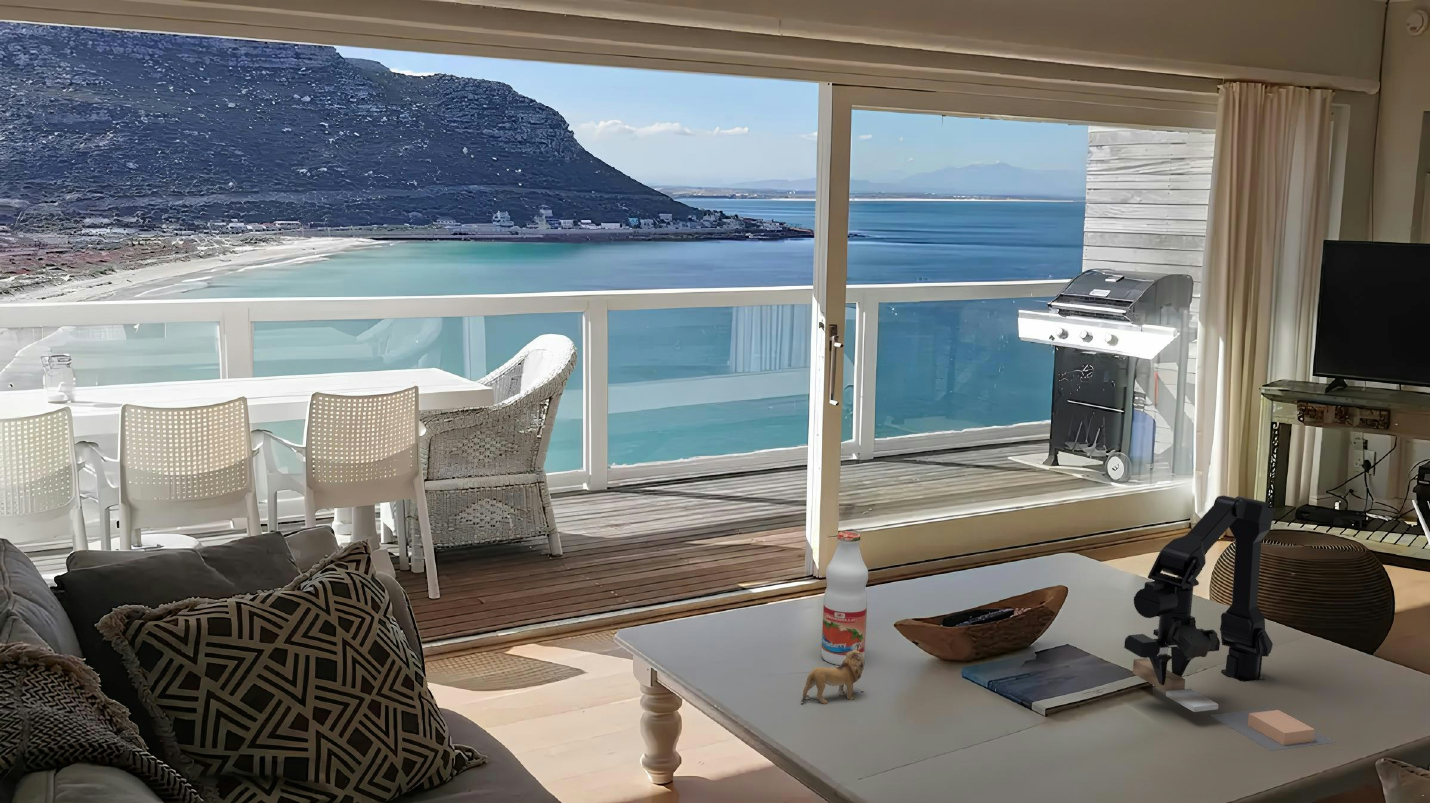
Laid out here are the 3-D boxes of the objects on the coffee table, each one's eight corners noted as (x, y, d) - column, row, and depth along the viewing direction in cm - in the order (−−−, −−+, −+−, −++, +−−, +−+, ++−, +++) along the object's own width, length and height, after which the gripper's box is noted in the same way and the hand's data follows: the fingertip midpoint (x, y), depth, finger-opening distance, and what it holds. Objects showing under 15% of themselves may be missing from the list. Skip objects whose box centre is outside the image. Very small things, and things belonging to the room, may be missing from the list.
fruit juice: (870, 655, 253) (877, 532, 249) (855, 669, 245) (862, 541, 241) (830, 647, 258) (836, 525, 253) (814, 660, 249) (820, 535, 245)
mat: (1270, 710, 231) (1271, 707, 231) (1335, 744, 216) (1335, 742, 216) (1209, 717, 227) (1209, 714, 227) (1270, 753, 212) (1270, 750, 211)
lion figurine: (853, 687, 236) (855, 645, 234) (869, 696, 231) (871, 653, 230) (793, 699, 228) (795, 656, 227) (809, 710, 224) (811, 665, 223)
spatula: (1127, 673, 239) (1128, 659, 239) (1150, 671, 241) (1151, 657, 240) (1193, 711, 220) (1195, 696, 220) (1218, 709, 222) (1219, 694, 222)
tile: (1278, 709, 224) (1314, 729, 216) (1276, 721, 224) (1313, 741, 216) (1248, 713, 222) (1284, 733, 213) (1247, 725, 222) (1283, 745, 214)
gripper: (1163, 625, 218) (1155, 704, 221) (1243, 618, 224) (1235, 695, 226) (1125, 607, 229) (1119, 681, 231) (1203, 600, 235) (1196, 673, 237)
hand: (1168, 683), depth 231 cm, fingers closed on spatula, 3 cm apart
